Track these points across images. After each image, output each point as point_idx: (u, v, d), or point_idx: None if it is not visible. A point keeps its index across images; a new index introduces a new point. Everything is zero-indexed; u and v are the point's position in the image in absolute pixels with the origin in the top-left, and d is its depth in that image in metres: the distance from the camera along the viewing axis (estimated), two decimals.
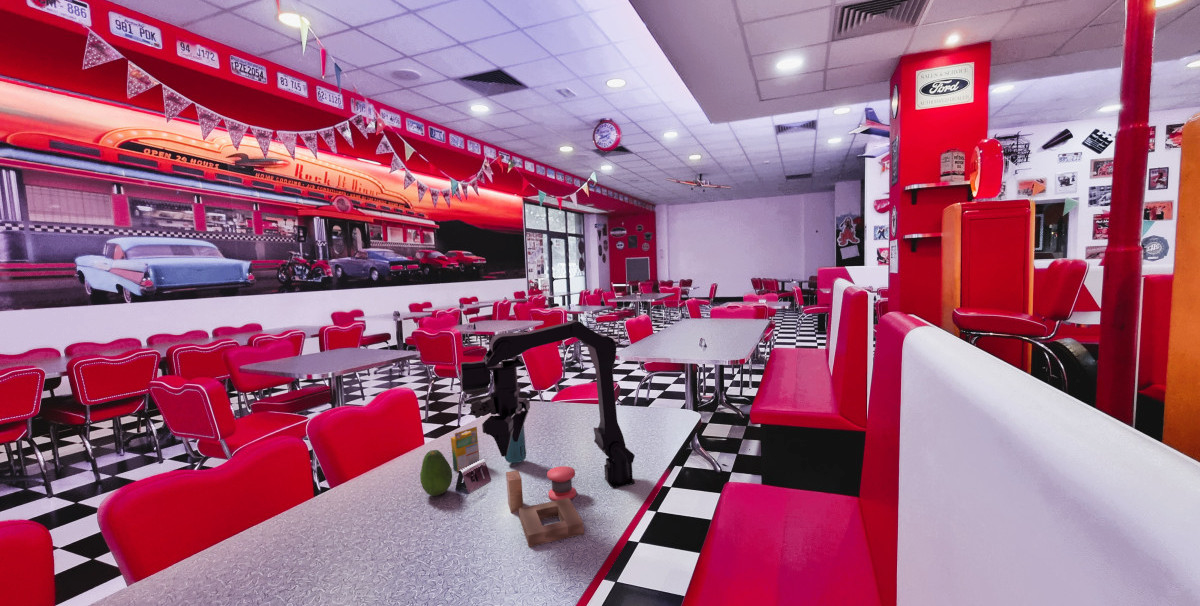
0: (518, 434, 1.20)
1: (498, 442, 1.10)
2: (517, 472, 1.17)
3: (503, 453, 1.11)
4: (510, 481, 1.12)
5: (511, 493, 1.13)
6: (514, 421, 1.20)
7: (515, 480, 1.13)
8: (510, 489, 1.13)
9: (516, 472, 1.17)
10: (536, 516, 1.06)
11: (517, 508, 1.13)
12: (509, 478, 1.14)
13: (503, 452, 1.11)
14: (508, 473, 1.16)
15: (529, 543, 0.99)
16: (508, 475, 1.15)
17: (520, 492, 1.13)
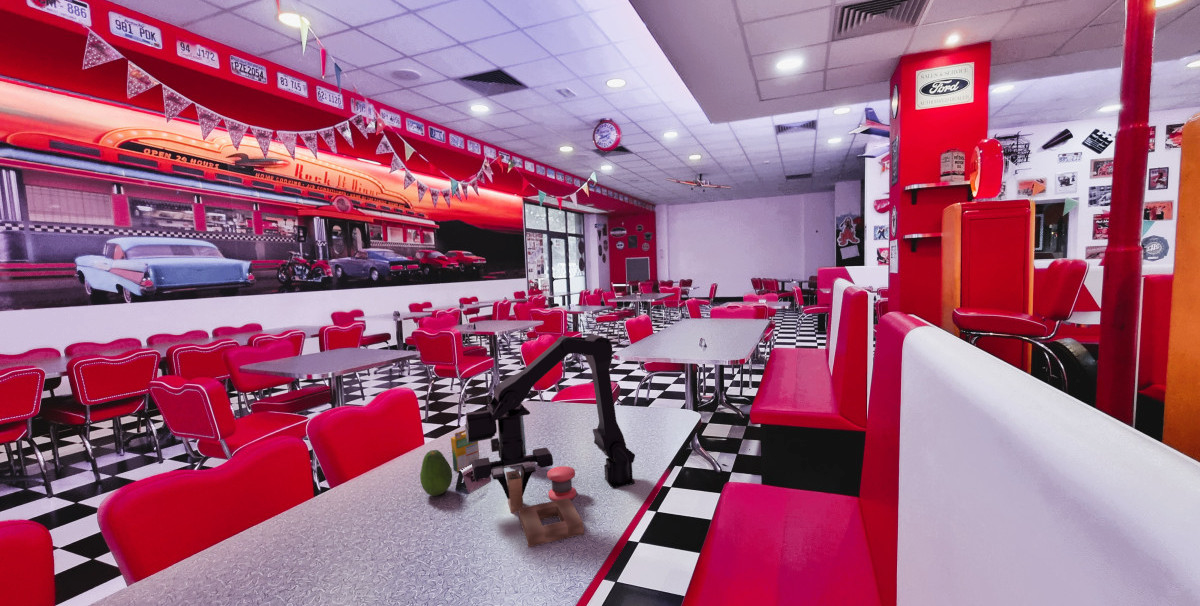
0: None
1: None
2: (517, 472, 1.17)
3: (507, 495, 1.15)
4: (510, 481, 1.12)
5: (511, 493, 1.13)
6: (521, 474, 1.16)
7: (515, 480, 1.13)
8: (510, 489, 1.13)
9: (516, 472, 1.17)
10: (536, 516, 1.06)
11: (517, 508, 1.13)
12: (509, 478, 1.13)
13: None
14: (508, 473, 1.16)
15: (529, 543, 0.99)
16: (508, 475, 1.15)
17: (520, 492, 1.13)
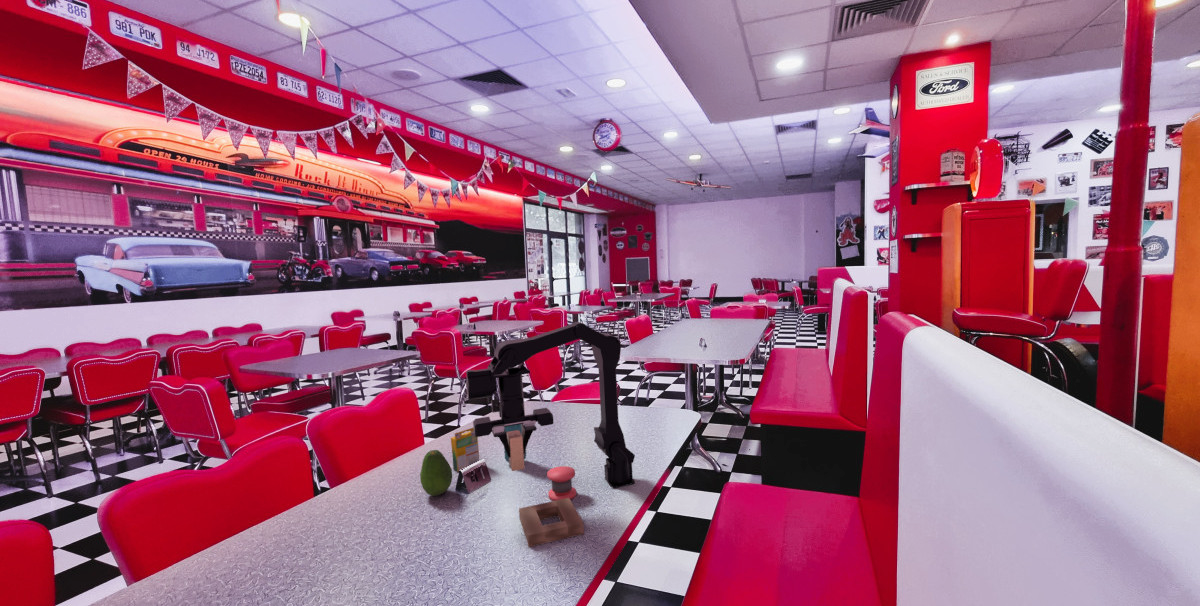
0: None
1: None
2: (518, 431, 1.17)
3: (508, 454, 1.15)
4: (511, 439, 1.13)
5: (512, 451, 1.13)
6: (522, 433, 1.16)
7: (515, 438, 1.13)
8: (511, 447, 1.13)
9: (517, 431, 1.17)
10: (536, 516, 1.06)
11: (518, 466, 1.14)
12: (510, 436, 1.14)
13: None
14: (509, 432, 1.17)
15: (529, 543, 0.99)
16: (509, 434, 1.16)
17: (521, 450, 1.14)
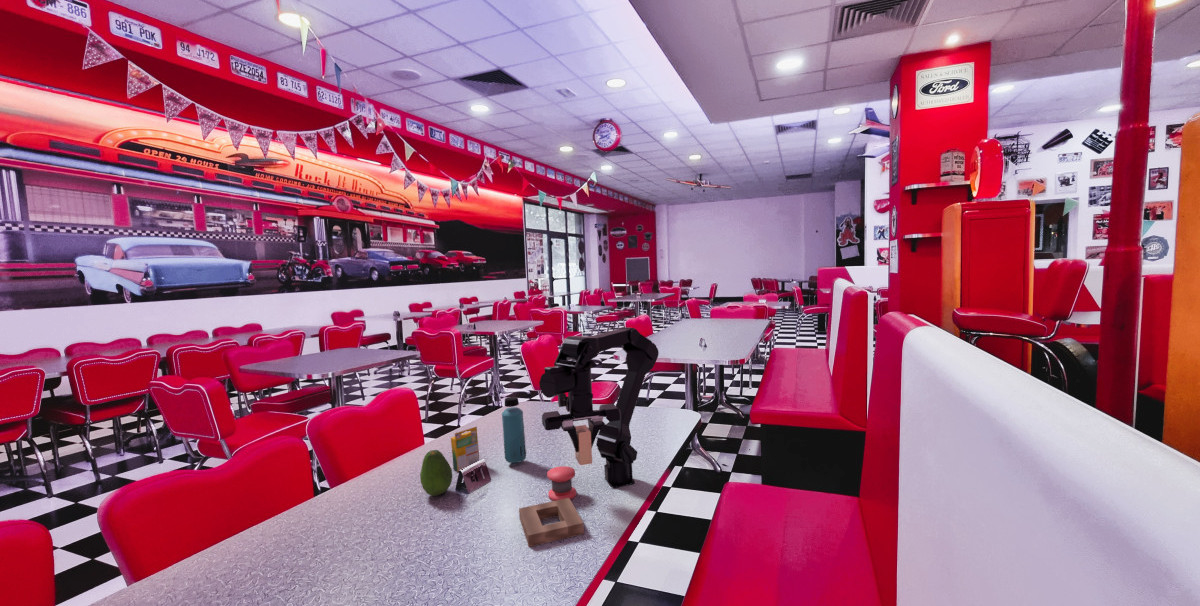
0: None
1: (570, 436, 1.16)
2: (585, 426, 1.17)
3: None
4: (580, 433, 1.13)
5: (580, 445, 1.14)
6: (589, 429, 1.17)
7: (584, 433, 1.14)
8: (580, 441, 1.13)
9: (584, 426, 1.17)
10: (536, 516, 1.06)
11: (586, 461, 1.14)
12: (578, 431, 1.14)
13: None
14: (576, 427, 1.17)
15: (529, 543, 0.99)
16: (577, 428, 1.16)
17: (589, 445, 1.14)
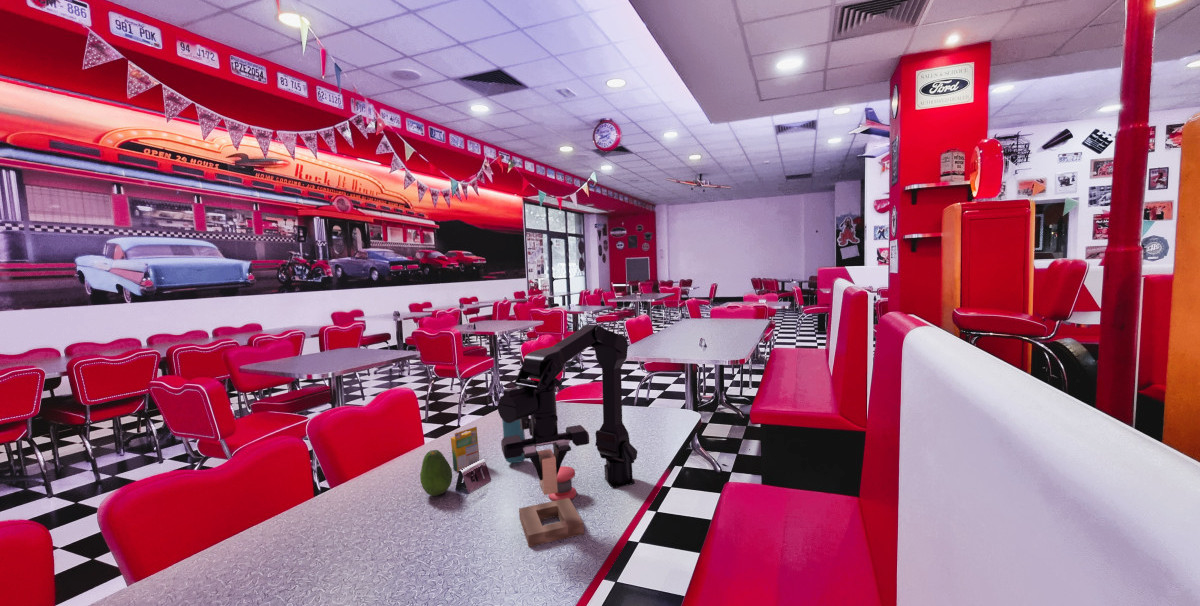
0: None
1: None
2: (550, 451, 1.07)
3: (539, 476, 1.05)
4: (543, 460, 1.02)
5: (544, 473, 1.03)
6: (555, 454, 1.06)
7: (548, 459, 1.03)
8: (543, 469, 1.03)
9: (549, 451, 1.07)
10: (536, 516, 1.06)
11: (551, 490, 1.03)
12: (542, 457, 1.03)
13: (538, 475, 1.05)
14: (540, 452, 1.06)
15: (529, 543, 0.99)
16: (540, 454, 1.05)
17: (554, 472, 1.03)
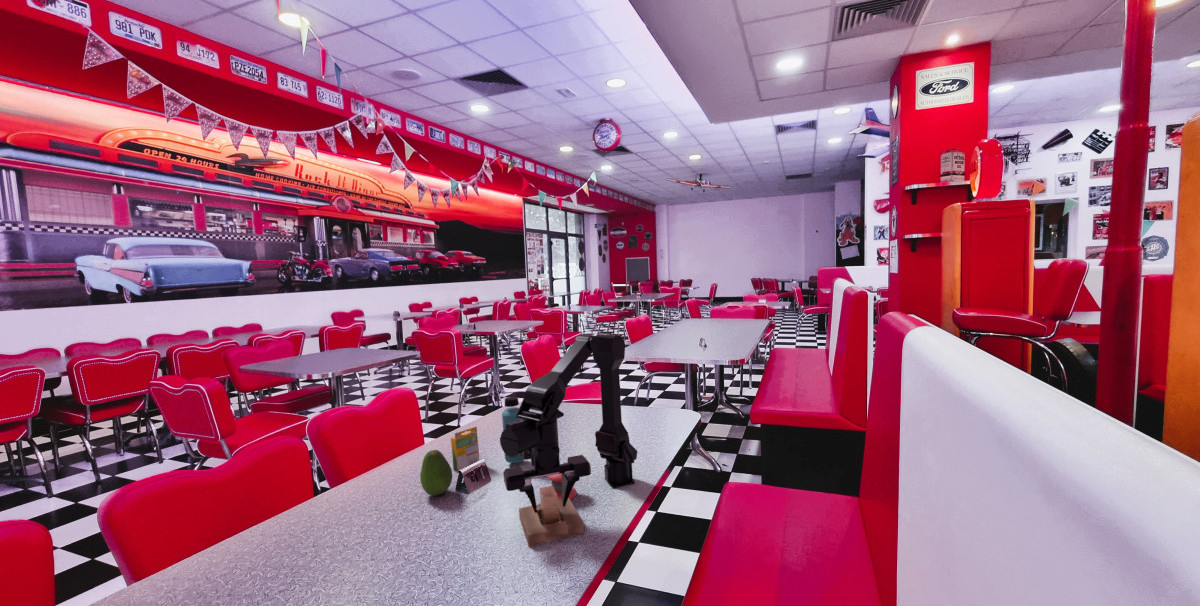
0: (563, 499, 1.06)
1: None
2: (552, 488, 1.07)
3: (534, 509, 1.05)
4: (545, 498, 1.03)
5: (546, 512, 1.03)
6: (563, 483, 1.07)
7: (550, 498, 1.03)
8: (545, 507, 1.03)
9: (551, 488, 1.07)
10: (536, 516, 1.06)
11: None
12: (544, 495, 1.04)
13: (533, 508, 1.05)
14: (542, 489, 1.07)
15: (529, 543, 0.99)
16: (542, 491, 1.06)
17: (556, 510, 1.04)
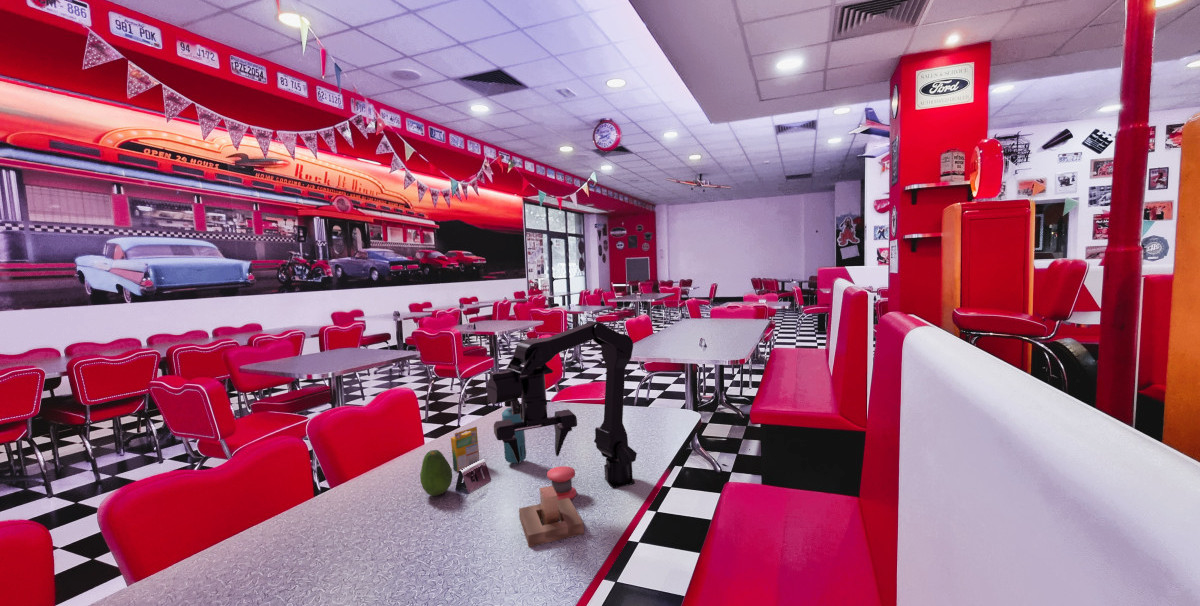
0: (556, 449, 1.12)
1: None
2: (552, 488, 1.07)
3: None
4: (545, 499, 1.03)
5: (546, 512, 1.03)
6: (556, 434, 1.13)
7: (550, 498, 1.03)
8: (545, 507, 1.03)
9: (551, 488, 1.07)
10: (536, 516, 1.06)
11: None
12: (544, 495, 1.04)
13: (516, 459, 1.10)
14: (542, 489, 1.07)
15: (529, 543, 0.99)
16: (542, 491, 1.06)
17: (556, 510, 1.04)
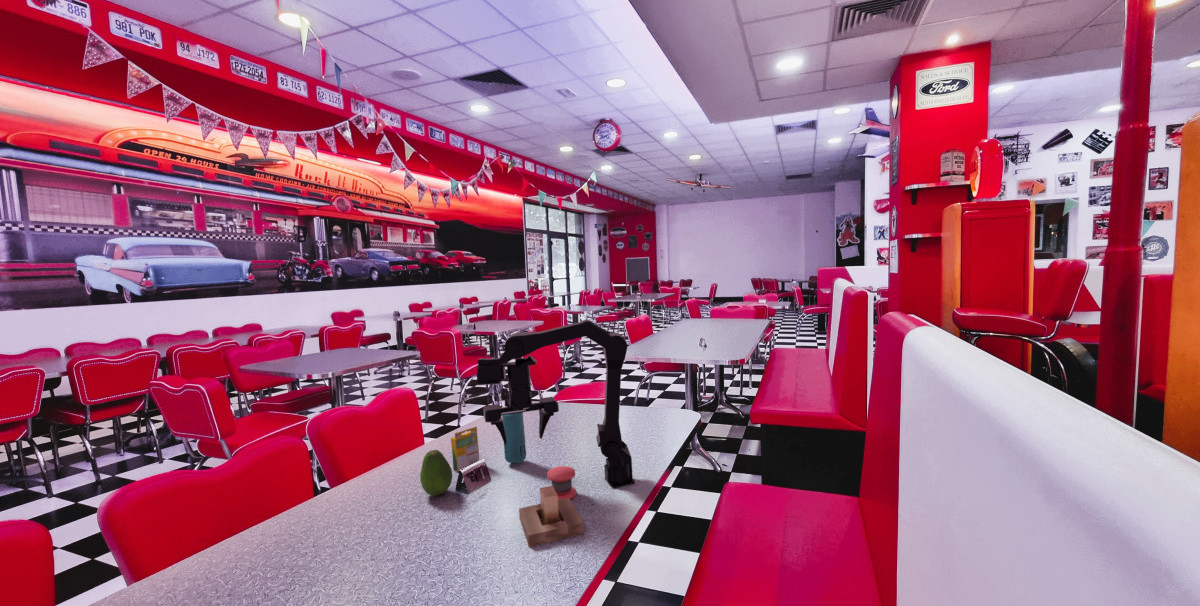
0: (540, 432, 1.24)
1: None
2: (552, 488, 1.07)
3: (504, 441, 1.22)
4: (545, 499, 1.03)
5: (546, 512, 1.03)
6: (540, 419, 1.25)
7: (550, 498, 1.03)
8: (545, 507, 1.03)
9: (551, 488, 1.07)
10: (536, 516, 1.06)
11: None
12: (544, 495, 1.04)
13: (503, 440, 1.22)
14: (542, 489, 1.07)
15: (529, 543, 0.99)
16: (542, 491, 1.06)
17: (556, 510, 1.04)
